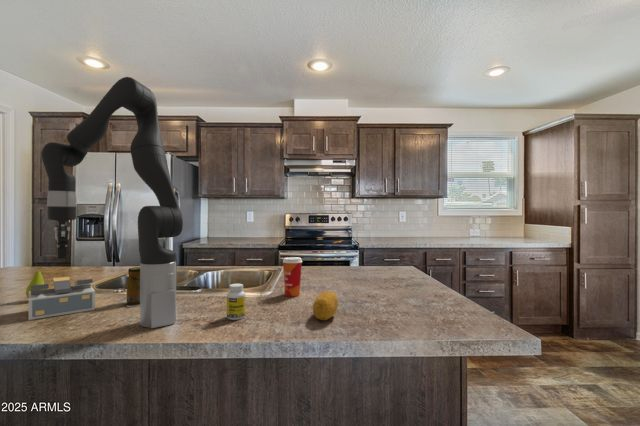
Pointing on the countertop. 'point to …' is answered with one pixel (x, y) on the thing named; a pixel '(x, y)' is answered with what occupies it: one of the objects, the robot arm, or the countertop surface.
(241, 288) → the supplement bottle
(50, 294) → the switch unit
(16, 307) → the countertop surface
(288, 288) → the paper cup
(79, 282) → the switch right
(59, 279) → the switch middle
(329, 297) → the potato
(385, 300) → the countertop surface
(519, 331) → the countertop surface
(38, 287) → the switch left
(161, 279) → the robot arm
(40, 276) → the fruit
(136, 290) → the condiment
